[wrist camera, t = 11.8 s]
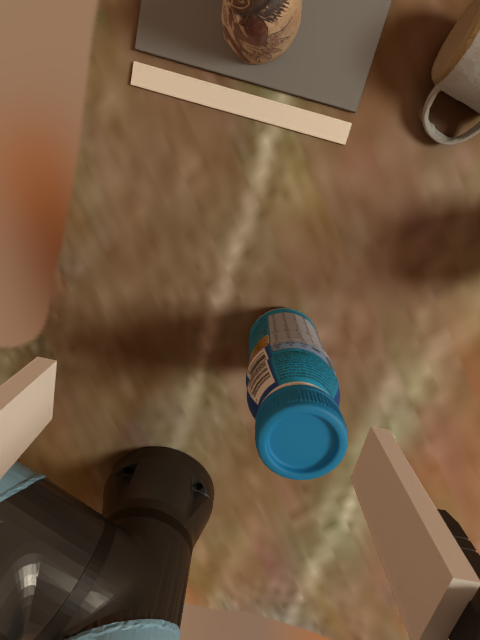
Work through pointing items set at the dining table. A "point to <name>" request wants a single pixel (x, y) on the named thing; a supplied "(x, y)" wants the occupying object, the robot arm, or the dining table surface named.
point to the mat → (293, 65)
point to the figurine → (260, 27)
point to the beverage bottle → (294, 397)
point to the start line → (239, 103)
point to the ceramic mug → (458, 72)
